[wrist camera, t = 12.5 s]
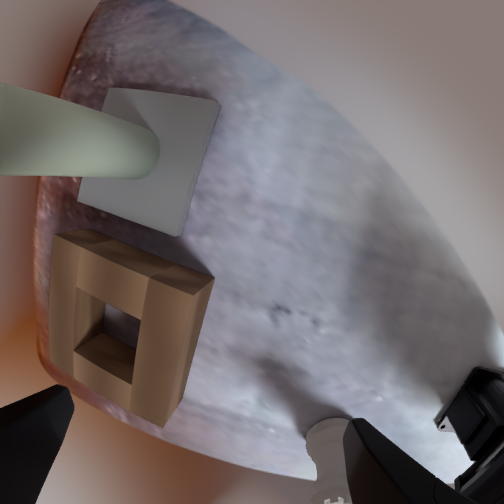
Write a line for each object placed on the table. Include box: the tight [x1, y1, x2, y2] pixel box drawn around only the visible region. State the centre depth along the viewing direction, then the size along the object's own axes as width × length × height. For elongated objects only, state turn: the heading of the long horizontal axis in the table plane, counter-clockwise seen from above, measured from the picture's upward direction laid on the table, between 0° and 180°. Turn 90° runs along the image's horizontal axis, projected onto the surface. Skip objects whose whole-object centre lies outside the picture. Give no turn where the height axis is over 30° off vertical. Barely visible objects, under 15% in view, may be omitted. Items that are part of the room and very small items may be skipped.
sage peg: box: [0, 82, 160, 180], centre depth 12 cm, size 4×4×12 cm
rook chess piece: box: [305, 417, 352, 504], centre depth 16 cm, size 4×4×8 cm
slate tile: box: [77, 87, 221, 237], centre depth 19 cm, size 9×9×1 cm
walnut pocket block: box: [49, 229, 215, 428], centre depth 20 cm, size 11×11×4 cm
